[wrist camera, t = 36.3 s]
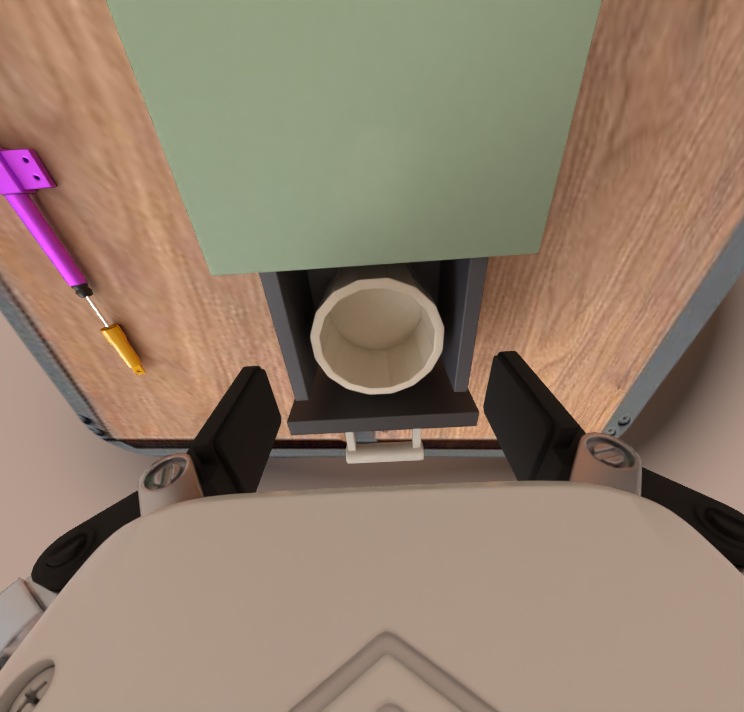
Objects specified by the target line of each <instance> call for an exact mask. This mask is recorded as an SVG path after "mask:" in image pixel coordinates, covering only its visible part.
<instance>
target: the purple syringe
mask: <svg viewBox="0 0 744 712" xmlns="http://www.w3.org/2000/svg"><path fill="white" fill-rule="evenodd" d="M50 187H56V185H55V183H54V181H53V180H52V178H51V177H50V175H49V173H48V172H47V170H46V169H45V167H44V165H43V164H42V162H41V161H40V159H39V157H38V156H37V154H36V153H35V151H34V150H33V149H17V150H8V149H2V148H0V194H1V195H3V196H5V198H6V199H7V201H8V202H9V203H10V205H11V206H12V208H13V209H14V210H15V212H16V213H17V214H18V216H19V217H20V219H21V220H22V221H23V223H24V224H25V225H26V227H27V228H28V230H29V231H30V232H31V234H32V235H33V237H34V238H35V239H36V241H37V242H38V243H39V245H40V246H41V248H42V249H43V250H44V252H45V253H46V255H47V256H48V257H49V259H50V260H51V261H52V263H53V264H54V266H55V267H56V268H57V270H58V271H59V273H60V274H61V275H62V277H63V278H64V279H65V281H66V282H67V284H68V285H69V286H71V287H72V288H73V289H75V290H76V294H77V295H78V296H80V297H81V298H84V297H86V298H87V300H88V301H89V303H90V304H91V305H92V307H93V308H94V310H95V311H96V313H97V314H98V315H99V317H100V318H101V320H102V321H103V322H104V324H105V325H106V327H104V328H102V329H101V330H100V331H101V333H102V334H103V336H104V337H105V338H106V340H107V341H108V342H109V344H112V345H113V347H114V348H115V350H116V351H117V352H118V354H119V355H120V357H121V358H122V359H123V361H124V362H125V363H126V365H127V366H128V367H130V368H132V369H133V371H134V372H135V374H136V375H139V374H144V373H146V371H145V369H144V368H143V367H142V365H141V360H140V358H139V357H138V356H137V354H136V353H135V351H134V350H133V348H132V347H131V345H130V344H129V342H128V341H127V339H126V338H127V337H126V335H125V334H124V332H123V331H122V329H121V328H120V326H119V325H118V324H113V325H109V324H108V322H107V321H106V319H105V318H104V316H103V315H102V313H101V312H100V311H99V309H98V308H97V306H96V305H95V303H94V302H93V301H92V299H91V298H90V296H91V295H93V292H92V289H90V288H89V287H88V283H87V280H86V279H85V277H84V276H83V274H82V273H81V271H80V270H79V268H78V267H77V265H76V264H75V262H74V261H73V259H72V258H71V256H70V255H69V253H68V252H67V251H66V249H65V248H64V246H63V245H62V243H61V242H60V240H59V239H58V237H57V236H56V234H55V233H54V231H53V230H52V228H51V227H50V225H49V224H48V223H47V221H46V220H45V218H44V217H43V215H42V214H41V212H40V211H39V209H38V208H37V206H36V205H35V203H34V202H33V200H32V199H31V198H30V196H29V195H28V193H34V192H36V190H35V189H40V188H50ZM138 370H141V371H138Z"/></svg>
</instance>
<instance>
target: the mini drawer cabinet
mask: <svg viewBox="0 0 744 712" xmlns="http://www.w3.org/2000/svg"><path fill="white" fill-rule="evenodd" d="M106 2H107V4H108V7H109V10H110V12H111V15H112V17H113V20H114V23H115V25H116V28H117V31H118V33H119V36H120V38H121V41H122V44H123V46H124V49H125V51H126V54H127V57H128V59H129V62H130V64H131V67H132V70H133V72H134V75H135V78H136V80H137V83H138V85H139V88H140V91H141V93H142V96H143V98H144V101H145V104H146V106H147V109H148V111H149V114H150V117H151V119H152V122H153V125H154V127H155V130H156V132H157V135H158V138H159V140H160V143H161V145H162V148H163V151H164V153H165V156H166V158H167V161H168V164H169V166H170V169H171V172H172V174H173V177H174V179H175V182H176V185H177V187H178V190H179V192H180V195H181V198H182V200H183V203H184V205H185V208H186V211H187V213H188V216H189V219H190V221H191V224H192V226H193V229H194V232H195V234H196V237H197V239H198V242H199V245H200V247H201V250H202V252H203V255H204V258H205V260H206V263H207V266H208V268H209V271H210V273H211V275H212V276H219V275H234V274H248V273H263V272H277V271H292V270H306V269H320V268H335V267H349V266H364V265H378V264H393V263H407V262H422V261H436V260H451V259H465V258H480V257H494V256H508V255H523V254H537V253H539V250H540V246H541V242H542V238H543V234H544V230H545V226H546V222H547V218H548V214H549V210H550V206H551V202H552V198H553V194H554V190H555V186H556V182H557V178H558V174H559V170H560V166H561V162H562V158H563V154H564V150H565V146H566V142H567V138H568V134H569V130H570V126H571V122H572V118H573V114H574V110H575V106H576V102H577V98H578V94H579V90H580V86H581V82H582V79H583V75H584V71H585V67H586V63H587V59H588V55H589V51H590V47H591V43H592V39H593V35H594V31H595V27H596V23H597V19H598V15H599V11H600V7H601V3H602V0H106Z"/></svg>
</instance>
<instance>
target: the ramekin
mask: <svg viewBox="0 0 744 712" xmlns="http://www.w3.org/2000/svg"><path fill="white" fill-rule="evenodd" d="M310 339H311V343H312V348H313V353H314V357H315V359H316V361H317V362H318V364H319V365H320V366H321V368H322V369H323V370H324V372H325V373H326V375H327V376H328V377H329V378H331V379H332V380H334V381H336V382H337V383H339V384H340V385H342V386H343V387H345V388H346V389H349V390H353V391H357V392H361V393H365V394H370V395H372V394H390V393H395V392H397V391H400V390H403V389H405V388H408V387H411V386H413V385H415V384H416V383H417V382H418V381H420V380H421V379H422V378H423V377H424V376H426V375H427V374H428V373H429V372H431V370H432V369H433V367H434V365H435V364H436V362H437V360H438V358H439V356H440V355H441V353H442V350H443V340H444V325H443V322H442V320H441V317H440V315H439V312H438V309H437V307H436V305H435V303H434V301H433V299H432V297H431V295H430V293H429V291H428V290H427V288H426V286H425V284H424V282H423V280H422V279H421V277H420V276H419V275H418V274H417V273H416V272H415V271H414V269H413V268H411V267H410V266H409V265H408V264H406V263H393V264H378V265H364V266H349V267H341V268H340V269H339V270H338V271H337V272H336V273H335V274H334V276H333V277H332V279H331V280H330V282H329V283H328V285H327V287H326V289H325V292H324V294H323V297H322V299H321V301H320V304H319V306H318V309H317V311H316V314H315V318H314V322H313V326H312V330H311V334H310Z"/></svg>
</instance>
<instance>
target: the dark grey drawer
mask: <svg viewBox="0 0 744 712" xmlns="http://www.w3.org/2000/svg"><path fill="white" fill-rule="evenodd" d="M487 263H488V257H480V258H465V259H451V260H436V261H422V262H407V263H406V264H408V265H409V266H410V267H411V268H413V269H414V271H415V272H416V273H417V274H418V275H419V276H420V277H421V279H422V280H423V282H424V284H425V286H426V288H427V290H428V291H429V293H430V295H431V297H432V299H433V301H434V303H435V305H436V307H437V309H438V312H439V315H440V317H441V320H442V322H443V325H444V340H443V350H442V353H441V355H440V356H439V358H438V360H437V362H436V364H435V365H434V367H433V369H432V370H431V372H429V373H428V374H427V375H426V376H424V377H423V378H422V379H421V380H420V381H418V382H417V383H416V384H415V385H413V386H411V387H408V388H405V389H403V390H400V391H397V392H395V393H390V394H372V395H370V394H365V393H361V392H357V391H353V390H349V389H346V388H345V387H343V386H342V385H340V384H339V383H337V382H336V381H334V380H332V379H331V378H329V377H328V376H327V375H326V373H325V372H324V370H323V369H322V368H321V366H320V365H319V364H318V362H317V361H316V359H315V357H314V353H313V348H312V343H311V339H310V334H311V330H312V326H313V322H314V318H315V314H316V311H317V309H318V306H319V304H320V301H321V299H322V297H323V294H324V292H325V289H326V287H327V285H328V283H329V282H330V280H331V279H332V277H333V276H334V274H335V273H336V272H337V271H338V270H339V269H340V268H341V267H335V268H320V269H306V270H292V271H277V272H263V273H259V275H260V278H261V282H262V285H263V289H264V292H265V296H266V299H267V303H268V306H269V310H270V313H271V317H272V320H273V324H274V327H275V331H276V334H277V338H278V341H279V345H280V348H281V351H282V355H283V358H284V362H285V365H286V369H287V372H288V376H289V379H290V383H291V386H292V390H293V393H294V397H295V400H294V403H293V406H292V409H291V412H290V415H289V418H288V421H287V424H288V427H289V430H290V433H291V435H306V434H325V433H346V439H347V447H346V460H347V463H366V462H387V461H408V460H423V458H424V452H423V445H422V442H421V429H424V428H444V427H463V426H476V425H477V421H478V416H479V411H478V408H477V406H476V404H475V402H474V400H473V398H472V396H471V394H470V392H469V389H468V384H469V377H470V371H471V365H472V358H473V352H474V346H475V339H476V333H477V327H478V320H479V314H480V308H481V301H482V295H483V289H484V282H485V276H486V270H487ZM404 429H412V442H394V443H374V444H356V440H355V433H354V432H365V431H384V430H404Z"/></svg>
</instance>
